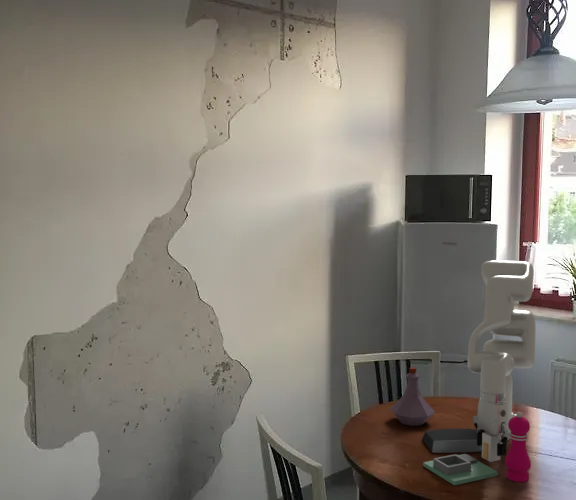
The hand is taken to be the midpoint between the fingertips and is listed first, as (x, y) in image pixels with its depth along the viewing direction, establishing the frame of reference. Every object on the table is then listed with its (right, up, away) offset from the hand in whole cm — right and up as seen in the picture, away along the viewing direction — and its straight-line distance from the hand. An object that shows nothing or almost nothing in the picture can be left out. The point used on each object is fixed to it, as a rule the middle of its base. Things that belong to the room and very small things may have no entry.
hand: (491, 449), depth 213 cm
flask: (-19, 0, +35) cm, 39 cm away
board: (-12, -4, -9) cm, 16 cm away
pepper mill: (+4, -4, -14) cm, 15 cm away
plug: (0, -3, 0) cm, 3 cm away
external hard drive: (-8, -2, +12) cm, 15 cm away
